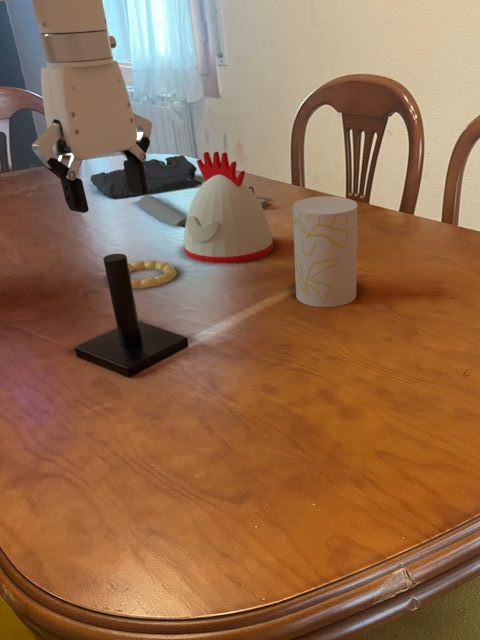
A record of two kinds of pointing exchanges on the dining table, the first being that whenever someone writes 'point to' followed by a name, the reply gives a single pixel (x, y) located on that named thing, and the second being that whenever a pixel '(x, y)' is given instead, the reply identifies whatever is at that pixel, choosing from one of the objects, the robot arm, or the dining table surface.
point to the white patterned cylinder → (325, 250)
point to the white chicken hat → (225, 217)
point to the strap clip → (259, 199)
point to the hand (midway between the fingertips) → (109, 201)
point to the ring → (166, 277)
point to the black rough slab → (150, 178)
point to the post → (128, 330)
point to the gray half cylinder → (162, 211)
